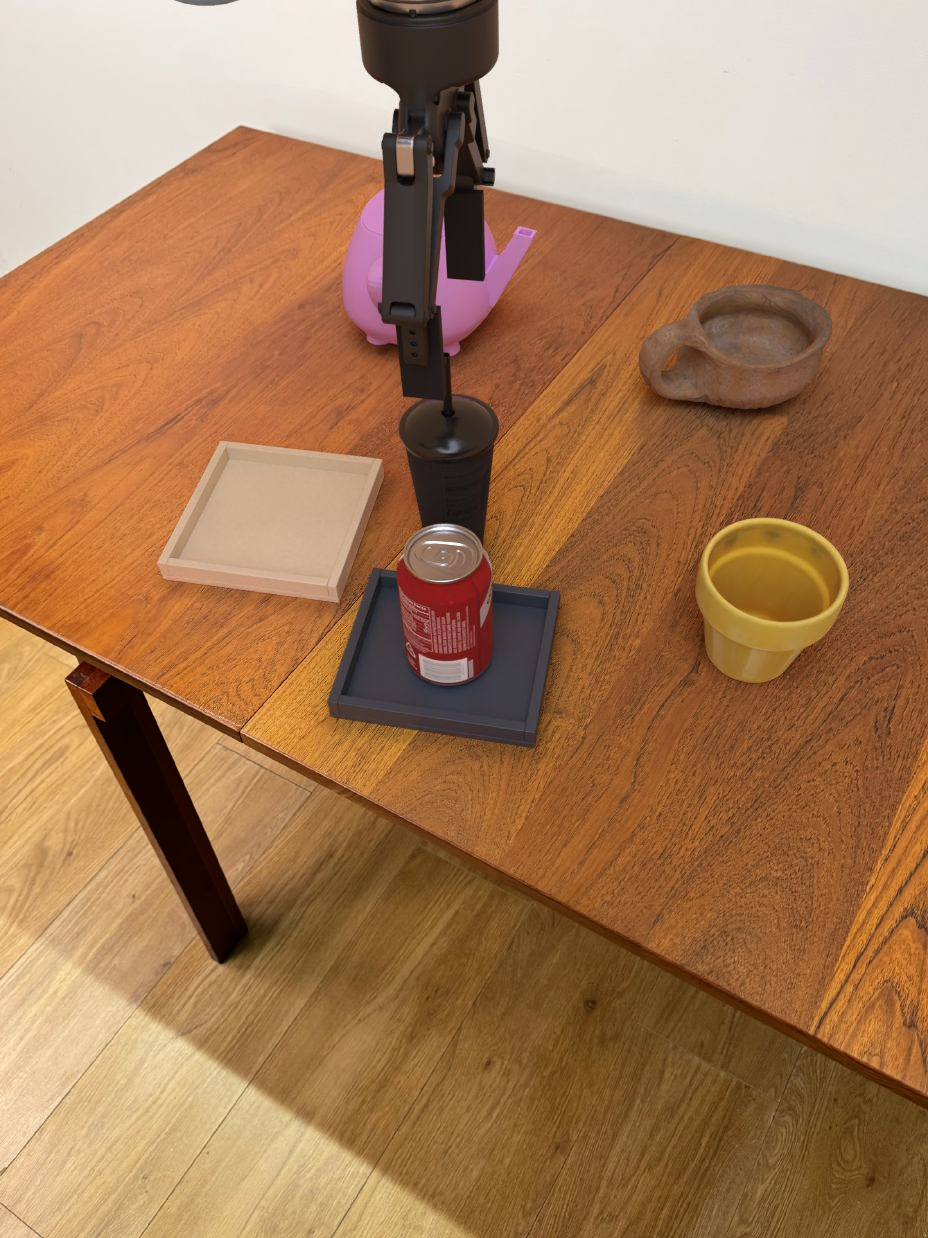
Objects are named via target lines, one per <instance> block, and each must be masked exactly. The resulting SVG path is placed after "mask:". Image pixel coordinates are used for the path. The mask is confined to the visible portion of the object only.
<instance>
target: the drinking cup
mask: <svg viewBox="0 0 928 1238" xmlns="http://www.w3.org/2000/svg"><path fill="white" fill-rule="evenodd" d="M451 362H452V361H451V356H450V353H448V352H444V365H445V381H446V396H445V399H444V401H441V400H431V399H421V398H420V400H418V401H415V402H414V403H412V404H411V405H410V406H408V408H407V409H406V410H405V411H404V412H403V414H402V416H401V417H400V420H399V423H398V437H399V439H400V441H401V443H402V445H403V446H404V448H405V453H406V457H407V461H408V466H409V471H410V476H411V480H412V486H413V490H414V495H415V498H416V504H417V510H418V513H419V519H420V524H421V529H422V528H424V527H427V526H430V525H434V524H445V523H446V524H455V525H459V526H462V527H464V528H467V529H468V530H470V531H471V532H473V533H474V534H475V535H476V536H477V537H478V539H479V540H480V542H481V544H482V548H483V549H484V541H485V532H486V522H487V513H488V506H489V505H488V504H489V495H490V488H491V487H490V485H491V478H492V468H493V461H494V460H493V459H494V451H495V450H494V449H495V443H496V441H497V439H498V437H499V434H500V421H499V417H498V415H497V413H496V412H495V410H494V409H493V408H492V407H491V406H490V405H489V404H487V402H485V401H484V400H482V399H480V398H479V397H478V398H477V397H476V396H472V395H468V394H464V393H457V392H456V393H454V392H453V389H452V388H453V387H452V367H451V366H452V364H451Z"/></svg>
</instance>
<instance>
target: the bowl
mask: <svg viewBox="0 0 928 1238" xmlns="http://www.w3.org/2000/svg"><path fill="white" fill-rule="evenodd" d="M832 333H833V319H832V316H831V314H830V312H828V310H827V309H825V308H824V307H823V306H822V304H820V303H818V302H817V301H816V300H813V299H811V298H809V297H807V296H805V295H804V294H803V293H801V292H799V291H798V290H796V289H792V288H788V287H783V286H776V285H772V284H760V283H751V284H749V283H748V284H735V285H727V286H723V287H720V288H719V287H718V288H717V289H715V290H714V291H709V292H706V293H703V295H701V297H699V298H698V299H697V300H696V301H695V302H694V303H693V304H692V305H691V308H689V311H688V312H687V315H686V317H685V318H682V319H680V320H676V321H671V322H669V323H667V324H664V325H662V326H660V327H659V328H656V329H655V330H654V331H653V332H652V333H650V334H649V335H648V337H647V338H646V339H645V340H644V341H643V343H642V345H641V347H640V349H639V353H638V369H639V372H640V375H641V377H642V379H643V381H644V383H645V385H646V386H647V387H648V389H649V390H651V391H652V393H654V394H655V395H657V396H659V397H662V398H665V399H668V400H672V401H673V400H675V401H689V402H695V403H706V404H708V405H710V406H720V407H723V408H731V409H740V410H749V409H752V410H757V409H759V408H763V409H764V408H770V407H772V406H774V405H780V404H781V403H783V402H786V401H789V400H791V399H793V398H794V397H798V396H799V395H800V394H801V393H802V392H803V391H805V390H806V389H807V388H808V387H809V385H810V383H811V382H812V381H813V380H814V379H815V377H816V375H817V372H818V370H819V368H820V365H821V361H822V359H823V358H822V357H823V354H824V349H825V348H826V346H827V344H828V342H829V341H830V338H831V335H832ZM676 351H677V353H676V354H677V355H676V360H675V362H674V364H673V365H672V366H671V367H670V368H668V369H666V370H664V369H663V368H664V365H665V363H666V362H667V360H668V359H669V358H670V357H671V356H672V355H673V354H674V353H675V352H676ZM662 369H663V370H662Z"/></svg>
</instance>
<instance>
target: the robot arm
mask: <svg viewBox="0 0 928 1238" xmlns="http://www.w3.org/2000/svg"><path fill="white" fill-rule="evenodd" d="M174 1H175V2H178V3H181V4H185V5H191V6H197V7H213V6H214V7H215V6H221V5H229V4H232V3H234V2H237V1H239V0H174ZM499 6H500V5H499V0H355V8H356V16H357V17H356V18H357V25H358V35H359V45H360V46H359V47H360V53H361V55H360V56H361V62H362V66H363V67H364V69H365V71H366V73H367V74H368V75H369V76H370V77H371V78H372V79H373V80H375V81H377V82H378V83H380V84H383V85H385V86H387V87H388V88H391V90H393V91H394V92H395V93H396V94H397V95H398V98H399V102H398V108H394V110H393V113H392V120H391V121H392V123H391V132H387V131H386V132H384V133H383V135H382V139H381V142H380V148H381V152H382V153H381V154H382V168H383V182H384V183H383V186H384V187H383V189H384V225H383V274H382V303H380V302H378V312H379V314H381V317H382V318H381V320H382V322H383V324H392V325H395V326H396V335H397V344H396V345H397V354H398V364H399V373H400V381H401V382H400V383H401V391H402V397H403V398H412V399H420V400H421V399H431V400H441V401H444V399H445V396H446V381H445V365H444V349H443V333H442V317H441V306H440V305H436V293H437V282H438V271H439V261H440V250H441V239H442V228H443V217H444V231H445V249H446V267H447V279H458V280H470V281H483V282H484V279H485V276H486V275H485V230H484V219H485V190H484V189H478V187H479V186H481V187H494V186H495V181H496V167H490V166H488V167H487V166H484V164H488V162H489V159H490V157H491V149H490V146H489V139H488V132H487V126H486V118H485V113H484V112H485V111H484V105H483V104H484V103H483V97H482V91H481V83H480V80H481V79H483V78H484V77H485V76H487V75H488V74H489V73H490V72H491V71H492V70H493V69H494V68H495V66H496V64H497V62H498V60H499V56H500V23H499V22H500V19H499V16H500V15H499V14H500V13H499V12H500V11H499Z"/></svg>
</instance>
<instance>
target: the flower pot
mask: <svg viewBox="0 0 928 1238" xmlns="http://www.w3.org/2000/svg"><path fill="white" fill-rule="evenodd" d="M849 588H850V575H849V570H848V567H847V565H846V562H845V560H844V558H843V556H842V555H841V553H840V552H839V550H838V549H837V548H836V547H835V546H834V544H832V543H831V541H829V540H828V539H826V538H825V537H824V536H823V535H821V534H820V533H818V532H817V531H815V530H813V529H812V528H809V527H808V526H806V525H803V524H800V523H797V522H795V521H791V520H786V519H783V518H776V517H775V518H774V517H754V518H747V519H746V518H745V519H742V520H739V521H735V522H733V523H731V524H728V525H727V526H725V527H723V528H722V529H720V530H719V531H718V532H716V533H715V534H714V535H713V536H712V537H711V539H709V541H708V542H707V544H706V545H705V547H704V549H703V551H702V554H701V557H700V561H699V564H698V568H697V574H696V580H695V589H694V590H695V591H694V592H695V600H696V603H697V606H698V609H699V611H700V613H701V614H702V617H703V630H704V648H705V652H706V654H707V657H708V659H709V662H711V664H712V665H713V666H714V667H715V668H716V669H717V670H718V671H720V673H722V674H723V675H725V676H726V677H728V678H731V679H733V680H736V681H739V682H743V683H749V684H760V683H767V682H770V681H772V680H774V679H776V678H778V677H780V676H781V675H783V673H784V672H785V671H786V670H787V669H788V668H789V667H790V666H791V664H792V663H793V662H794V661H795V660H796V659H797V657H798V656H799V655H800V654H801V653H802V652H803V650H804V649H805V648H808V647H810V646H811V645H813V644H815V643H817V642H818V641H819V640H821V639H822V638H824V637H825V636H826V634H827V633H828V632H829V631H830V630H831V628H832V627H833V625H834V623H835V621H836V620H837V618H838V616H839V614H840V612H841V610H842V608H843V605H844V603H845V600H846V598H847V595H848V593H849Z"/></svg>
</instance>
